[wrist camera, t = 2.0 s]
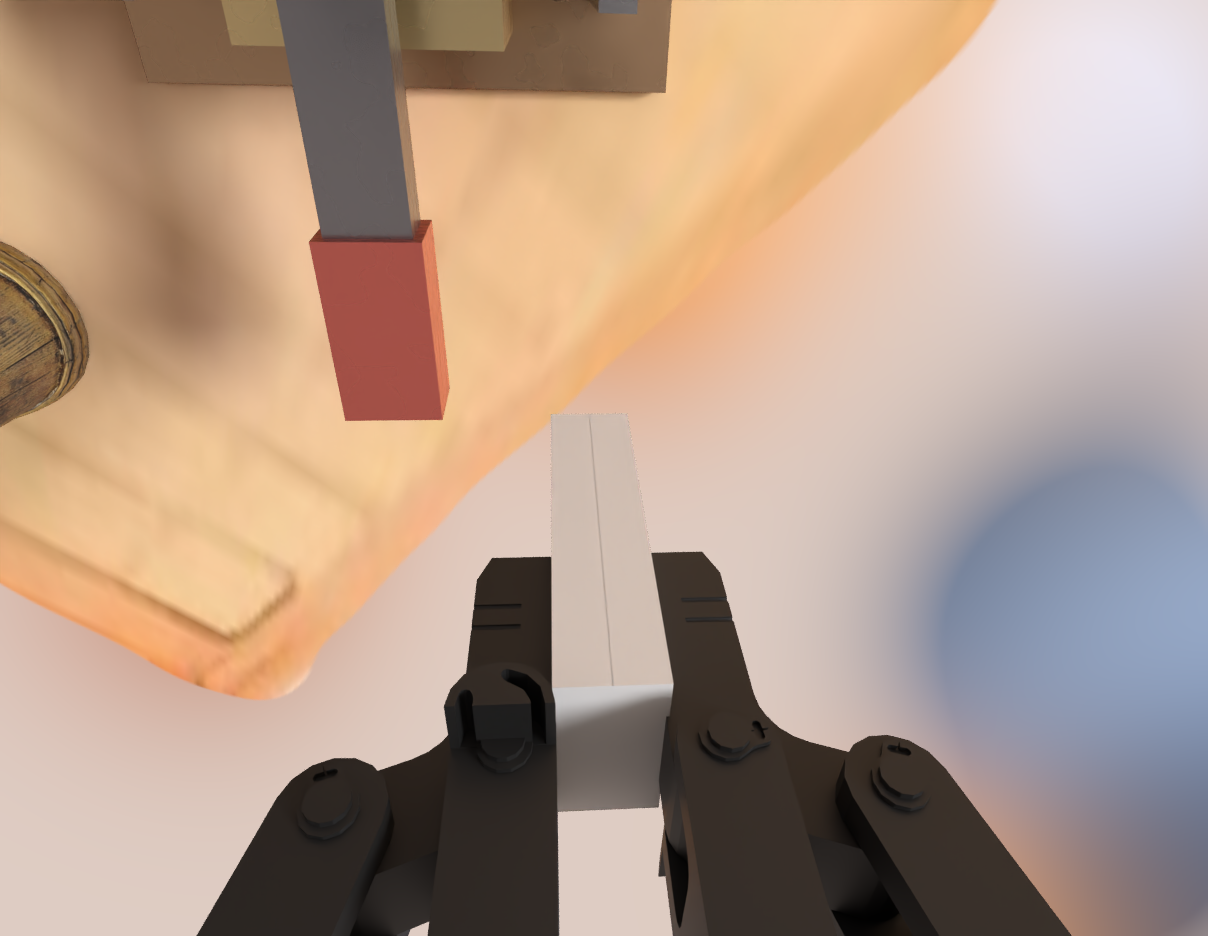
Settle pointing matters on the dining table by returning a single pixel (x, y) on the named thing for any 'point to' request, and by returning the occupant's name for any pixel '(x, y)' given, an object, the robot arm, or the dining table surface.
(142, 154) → the dining table surface
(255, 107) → the dining table surface
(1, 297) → the wooden mug
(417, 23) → the valve body
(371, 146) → the lever
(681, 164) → the dining table surface
